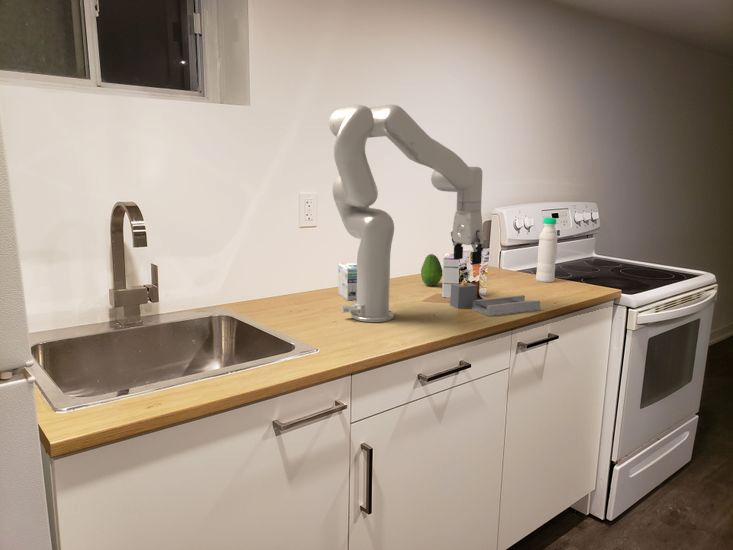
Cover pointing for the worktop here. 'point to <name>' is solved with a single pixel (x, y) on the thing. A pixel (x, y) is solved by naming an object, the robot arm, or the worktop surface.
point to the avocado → (431, 270)
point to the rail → (505, 305)
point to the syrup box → (449, 274)
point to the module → (463, 295)
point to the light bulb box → (347, 280)
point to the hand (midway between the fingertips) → (467, 261)
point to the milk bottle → (547, 251)
